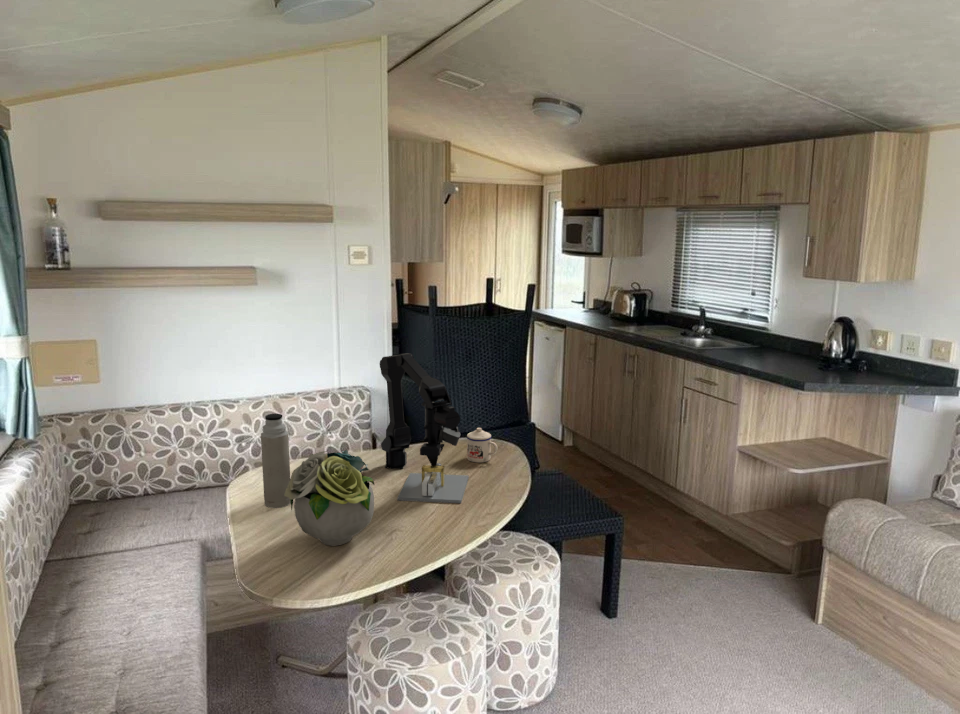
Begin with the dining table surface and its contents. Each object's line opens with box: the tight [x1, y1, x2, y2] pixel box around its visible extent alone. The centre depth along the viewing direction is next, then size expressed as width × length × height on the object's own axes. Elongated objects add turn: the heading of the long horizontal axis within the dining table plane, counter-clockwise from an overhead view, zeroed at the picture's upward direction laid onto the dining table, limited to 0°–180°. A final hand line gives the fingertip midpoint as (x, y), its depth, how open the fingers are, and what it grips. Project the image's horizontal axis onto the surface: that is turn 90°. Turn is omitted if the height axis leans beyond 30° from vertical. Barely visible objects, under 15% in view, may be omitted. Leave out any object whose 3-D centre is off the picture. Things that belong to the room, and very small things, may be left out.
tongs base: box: [397, 462, 469, 504], centre depth 223 cm, size 20×21×5 cm
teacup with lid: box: [466, 427, 499, 463], centre depth 250 cm, size 12×9×12 cm
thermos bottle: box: [260, 413, 291, 509], centre depth 208 cm, size 8×8×28 cm
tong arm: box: [428, 472, 440, 496], centre depth 222 cm, size 2×16×4 cm, turn 174°
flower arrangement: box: [284, 449, 375, 547], centre depth 185 cm, size 25×25×24 cm
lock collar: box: [421, 464, 445, 486], centre depth 223 cm, size 7×2×6 cm, turn 85°
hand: (434, 467), depth 225 cm, fingers closed
